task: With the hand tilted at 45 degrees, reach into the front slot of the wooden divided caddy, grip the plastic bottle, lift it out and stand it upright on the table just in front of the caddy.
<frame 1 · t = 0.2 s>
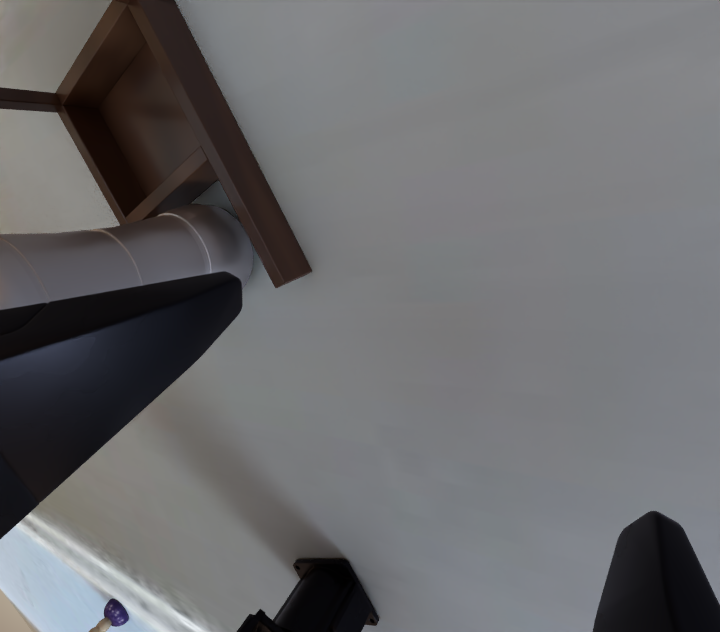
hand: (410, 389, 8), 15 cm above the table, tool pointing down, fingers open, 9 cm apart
wooden divided caddy: (195, 181, 30), on the table
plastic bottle: (231, 247, 30), on the table
toy lamp: (120, 607, 65), on the table
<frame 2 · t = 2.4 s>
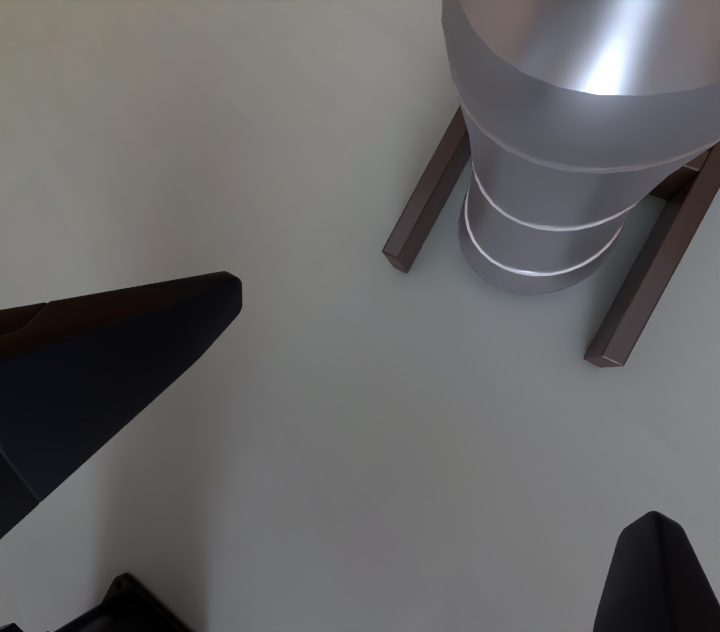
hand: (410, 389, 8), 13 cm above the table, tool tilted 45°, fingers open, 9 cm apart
wooden divided caddy: (577, 150, 21), on the table
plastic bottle: (528, 241, 21), on the table
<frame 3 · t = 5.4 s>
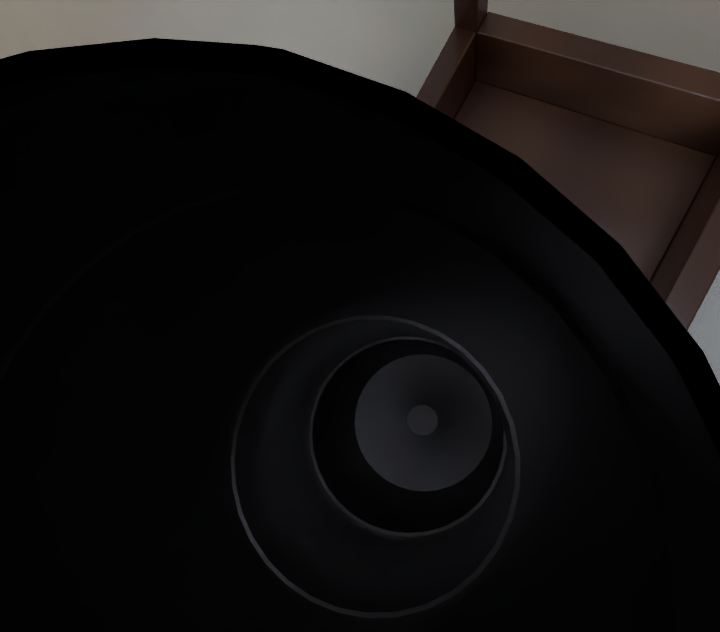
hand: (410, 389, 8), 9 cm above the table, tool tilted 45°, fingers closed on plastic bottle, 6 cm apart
wooden divided caddy: (484, 305, 17), on the table
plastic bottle: (424, 418, 17), on the table, touching gripper
when the fingers open (9 cm above the table, at t = 10.7 s): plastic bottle stays where it is, on the table.
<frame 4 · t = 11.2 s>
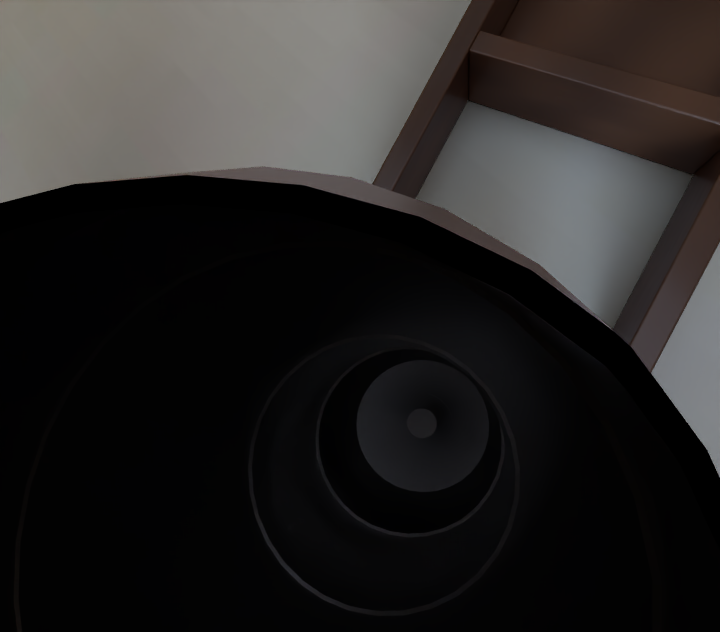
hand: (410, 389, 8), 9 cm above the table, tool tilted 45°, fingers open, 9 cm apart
wooden divided caddy: (582, 116, 18), on the table
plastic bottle: (423, 422, 17), on the table
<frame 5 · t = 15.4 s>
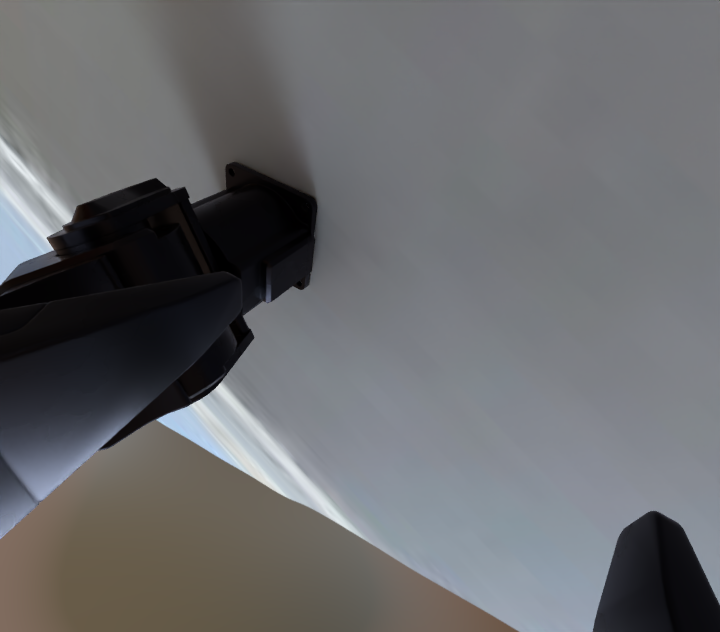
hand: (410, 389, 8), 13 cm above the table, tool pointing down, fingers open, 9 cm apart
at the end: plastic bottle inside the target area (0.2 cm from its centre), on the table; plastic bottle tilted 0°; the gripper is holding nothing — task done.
